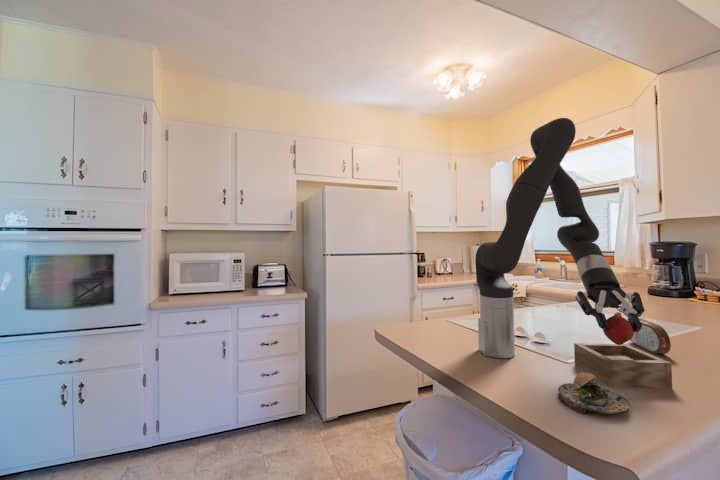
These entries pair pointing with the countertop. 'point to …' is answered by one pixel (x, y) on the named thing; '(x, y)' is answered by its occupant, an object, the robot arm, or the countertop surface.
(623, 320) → the onion
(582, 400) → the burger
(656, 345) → the tin
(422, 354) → the countertop surface
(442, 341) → the countertop surface
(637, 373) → the open wooden tray box
